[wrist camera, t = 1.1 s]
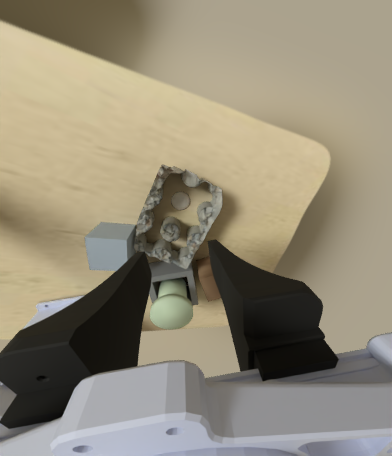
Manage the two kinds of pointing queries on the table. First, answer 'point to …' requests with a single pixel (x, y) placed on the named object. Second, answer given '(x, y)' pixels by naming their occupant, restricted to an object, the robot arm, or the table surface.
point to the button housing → (172, 271)
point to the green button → (172, 305)
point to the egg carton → (171, 224)
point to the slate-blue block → (110, 245)
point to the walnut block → (207, 279)
